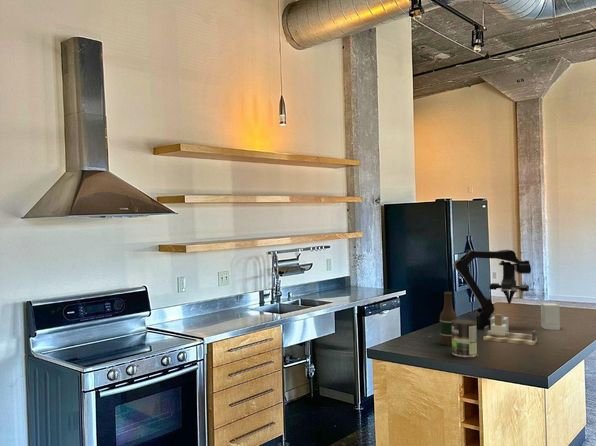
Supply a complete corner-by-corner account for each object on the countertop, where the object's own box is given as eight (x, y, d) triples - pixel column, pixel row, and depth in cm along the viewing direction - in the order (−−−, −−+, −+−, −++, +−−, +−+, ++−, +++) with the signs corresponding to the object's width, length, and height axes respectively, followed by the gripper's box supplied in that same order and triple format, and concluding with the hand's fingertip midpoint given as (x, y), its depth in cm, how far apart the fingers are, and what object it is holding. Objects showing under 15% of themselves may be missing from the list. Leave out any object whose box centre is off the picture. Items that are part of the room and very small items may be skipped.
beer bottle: (457, 342, 237) (457, 291, 237) (457, 346, 230) (456, 293, 230) (440, 341, 240) (439, 290, 240) (439, 345, 232) (438, 292, 232)
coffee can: (457, 357, 211) (456, 324, 211) (448, 351, 221) (447, 319, 221) (481, 356, 211) (480, 323, 211) (471, 350, 222) (470, 318, 222)
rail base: (483, 340, 241) (483, 328, 241) (488, 335, 249) (487, 324, 249) (533, 345, 229) (533, 333, 229) (537, 340, 237) (536, 329, 237)
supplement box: (560, 330, 260) (559, 305, 260) (544, 329, 261) (544, 305, 261) (556, 327, 267) (555, 303, 267) (540, 326, 268) (540, 302, 268)
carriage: (490, 334, 241) (490, 315, 241) (493, 332, 246) (493, 313, 246) (504, 335, 238) (503, 316, 238) (506, 333, 243) (506, 314, 243)
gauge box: (490, 334, 252) (490, 318, 252) (493, 331, 258) (493, 316, 258) (505, 335, 249) (505, 319, 249) (508, 333, 254) (508, 317, 254)
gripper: (486, 274, 264) (487, 304, 264) (525, 276, 253) (526, 307, 253) (491, 272, 273) (492, 301, 273) (529, 273, 263) (529, 304, 263)
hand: (509, 303), depth 265 cm, fingers closed
